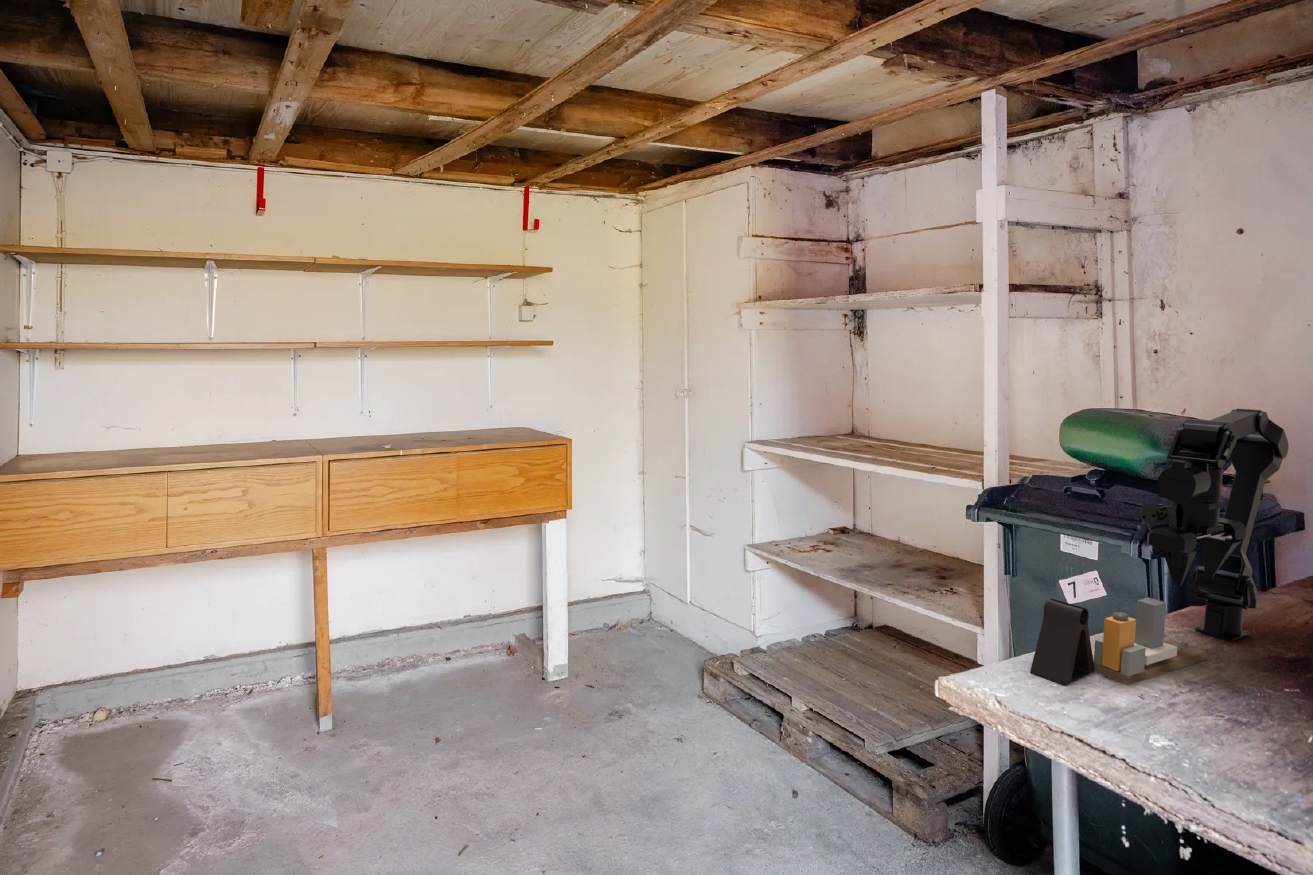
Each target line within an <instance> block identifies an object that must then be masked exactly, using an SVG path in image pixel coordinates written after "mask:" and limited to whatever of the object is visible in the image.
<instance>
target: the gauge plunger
mask: <svg viewBox="0 0 1313 875" xmlns="http://www.w3.org/2000/svg"><path fill="white" fill-rule="evenodd" d="M1135 629H1136V618H1133V617H1129V614H1128V613H1125V612H1123V611H1122V612H1121V611H1114V612H1113V613H1112V615H1111V616H1109V617H1105V618H1104V625H1103V637H1102V638H1103V651H1102V665H1103V666H1106V667H1108V668H1111V669H1113V670H1116V671H1119V670H1121V661H1122V650H1123V649H1126V648H1129V647H1133V646H1134V643H1135Z"/></svg>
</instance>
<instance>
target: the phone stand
mask: <svg viewBox="0 0 1313 875" xmlns="http://www.w3.org/2000/svg"><path fill="white" fill-rule="evenodd" d="M1042 617H1043V619H1042V623H1041V627H1040V630H1039V633H1038V634H1039V635H1038V638H1037V642H1036V646H1035V650H1034V654H1033V659H1032V662H1031V666H1030V670H1029V672H1030V674H1034V675H1036V676H1038V677H1041V678H1044V679H1046V680H1049V681H1052V682H1055V683H1057V684H1060V685H1062V686H1068V685H1071V684H1072V683H1075V682H1077V681H1079V680H1081V679H1084V678H1087V677H1088V676H1089V675H1092V674H1094V673H1095V672H1094V671H1095V668H1094V654H1093V650H1092V644H1091V638H1090V637H1091V636H1090V635H1091V634H1090V630H1089V629H1090V628H1089V617H1090V612H1089V609H1088V608H1086V607H1083V606H1079V605H1077V604H1072V603H1069V602H1065V601H1061V600H1059V599H1055V598H1050V599H1046V601H1045V603H1044V605H1043V616H1042Z"/></svg>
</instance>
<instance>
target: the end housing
mask: <svg viewBox="0 0 1313 875" xmlns="http://www.w3.org/2000/svg"><path fill="white" fill-rule="evenodd" d="M1093 651H1094V652H1093V662H1094V663H1096V664H1099V665H1102V651H1103V637H1099V638H1097V639H1095V640H1094V650H1093ZM1145 651H1146V648H1145V647H1142V646H1139V645H1136V646H1133V647H1129V648H1126V649H1123V650H1122V661H1121V674H1124V675H1126V676H1131V675H1134V674H1137V673H1140V672H1143V671H1144V665H1145Z"/></svg>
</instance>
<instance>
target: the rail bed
mask: <svg viewBox="0 0 1313 875" xmlns="http://www.w3.org/2000/svg"><path fill="white" fill-rule="evenodd" d="M1163 642H1164V643H1167V644H1170V645H1173V646H1176V647H1177V656H1174V657H1171V658H1168V659H1165V660H1162V661H1158V662H1155V663H1152V664H1149V665H1144V671H1143V672H1140V673H1137V674H1134V675H1131V676H1126V675H1124V674H1121V670H1119V671H1116V670H1113V669H1111V668H1108V667H1106V666H1103V665H1099V664H1096V663H1094V668H1095V671H1094V673H1096V674H1100V675H1101V676H1104V677H1107V678H1108V679H1109V678H1110V679H1112V680H1114V681H1116V682H1120V683H1122V684H1123V685H1124V684H1125V685H1126V686H1129V685H1132V684H1135V683H1138V682H1141V681H1144V680H1148V679H1150V678H1153V677H1156V676H1160V675H1162V674H1166V673H1169V672H1172V671H1175V670H1178V669H1181V668H1184V667H1187V666H1190V665H1193V664H1196V663H1200V662H1203V661H1205V660H1206V658H1207V651H1206V650H1204V649H1201V648H1197V647H1194V646H1191V645H1189V643H1188V642H1185V641H1177V640H1174V639H1167V640H1165V641H1164V640H1163Z"/></svg>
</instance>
